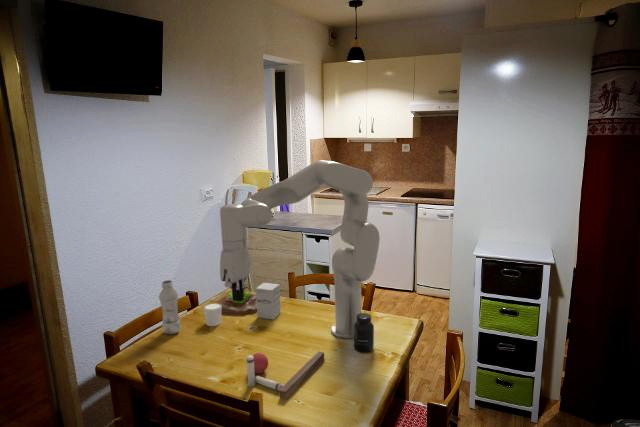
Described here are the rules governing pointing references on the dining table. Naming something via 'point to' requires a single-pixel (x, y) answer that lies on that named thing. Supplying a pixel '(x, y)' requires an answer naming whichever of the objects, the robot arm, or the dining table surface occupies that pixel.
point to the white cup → (213, 314)
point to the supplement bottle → (363, 333)
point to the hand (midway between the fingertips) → (238, 300)
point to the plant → (239, 304)
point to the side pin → (250, 371)
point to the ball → (260, 363)
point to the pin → (268, 383)
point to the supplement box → (268, 300)
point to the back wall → (301, 375)
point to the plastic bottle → (169, 308)
